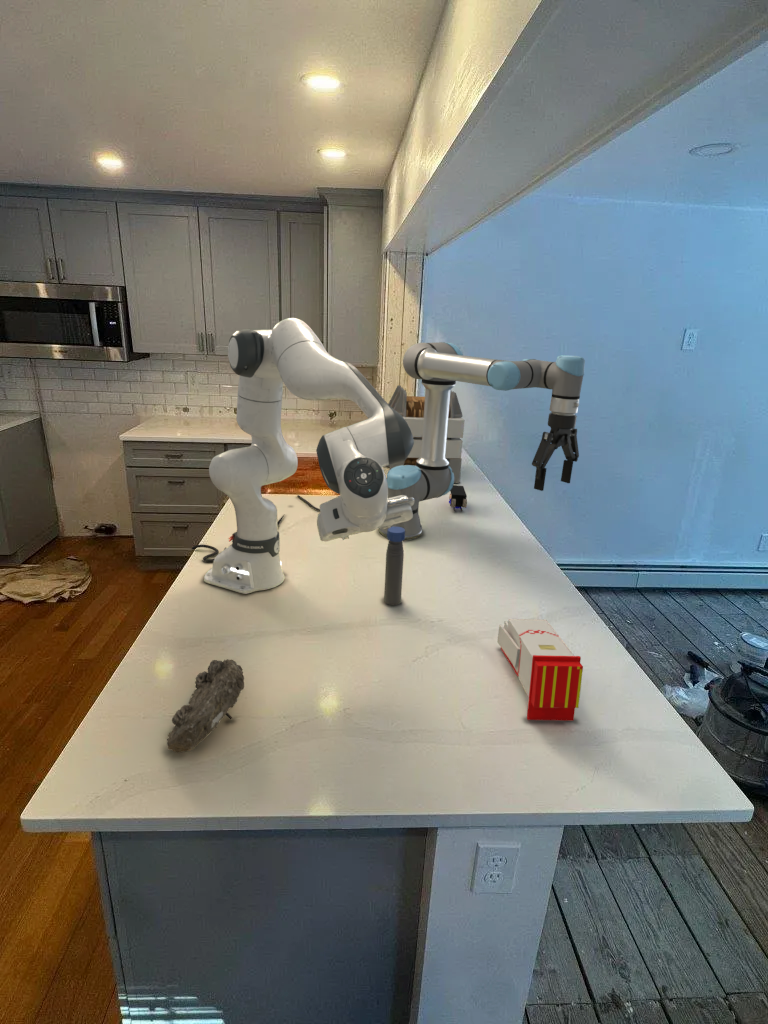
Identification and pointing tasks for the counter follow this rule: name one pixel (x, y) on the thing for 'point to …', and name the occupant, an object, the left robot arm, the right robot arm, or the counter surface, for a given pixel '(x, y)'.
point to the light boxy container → (414, 416)
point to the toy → (542, 668)
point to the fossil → (206, 705)
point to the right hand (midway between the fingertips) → (552, 485)
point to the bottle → (393, 573)
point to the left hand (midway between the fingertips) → (365, 530)
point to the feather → (280, 520)
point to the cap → (396, 534)
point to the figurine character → (458, 497)
